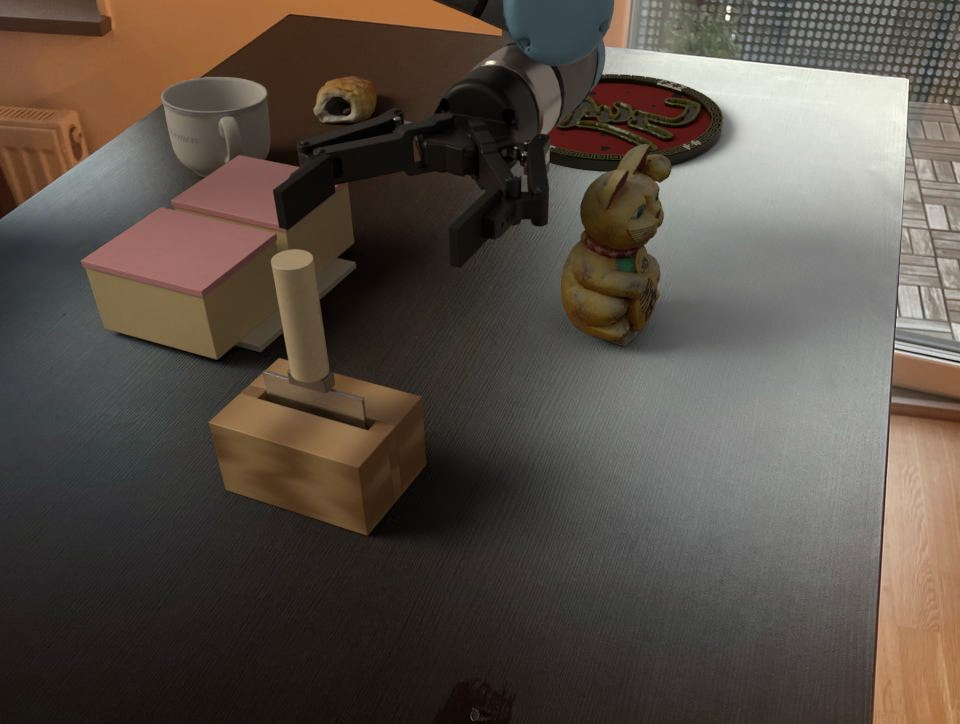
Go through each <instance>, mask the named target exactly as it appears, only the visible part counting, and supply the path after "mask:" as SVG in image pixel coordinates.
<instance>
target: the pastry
mask: <svg viewBox="0 0 960 724" xmlns="http://www.w3.org/2000/svg"><path fill="white" fill-rule="evenodd" d="M377 95H378V94H377V89H376V86H375V85H374V82H373V81H372V80H370V79H366V78H361V77H359V76H356V75H351V76H344V77H340V78H339V77H338V78H334V79H331V80H328V81H326V82H325V84H324V85H323V86H321V87H320V88H319V90H318V92H317V94H316V102H315V106H314V107H313V114H314V115H315V117H317V119H318V120H319V122H320V123H322V124H333V125H334V124H340V123H347V124H357V123H360V122H363V121H366V120H369V119H371V117H372V115H373V114H374V113H375V111H376V110H375V109H376V106H377V102H378V99H377V97H378V96H377Z"/></svg>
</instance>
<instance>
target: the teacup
mask: <svg viewBox="0 0 960 724" xmlns="http://www.w3.org/2000/svg"><path fill="white" fill-rule="evenodd" d="M160 94H161V95H160V100H161V103H162V104H163V109H164V115H165V120H166V126H167V130H168V135H169V140H170V143H171V146H172V149H173V152H174V154H175V156H176V158H177V159H178V160H179V162H180V163H181V164H183V165H184V166H185V167H187V169H190V170H192V172H193V173H194V174H196V175H198V176H199V177H201V178H203V179H204V178H205V177H207V176H208V175H210V174H211V173H213V172H214V171H216V170H217V169H219V168H220V167H222V166H223V165H225V164H226V163H228V162H229V161H231V160H232V159H234V158H235V157H237V156H238V155H242V156H247V157H252V158H257V159H261V160H266V159H267V158H268V155H269V153H270V150H271V149H270V148H271V125H270V113H269V105H268V104H269V103H268V97H269V93H268V89H267V88H266V87H265V86H264V85H262V84H261V83H259V82H256V81H254V80H249V79H245V78H241V77H240V78H239V77H231V76H205V77H196V78H191V79H187V80H183V81H180V82H177V83H174V84H172V85H170V86H168V87H167V88H165V89H164V90H163V91H162V93H160Z"/></svg>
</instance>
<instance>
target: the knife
mask: <svg viewBox="0 0 960 724" xmlns="http://www.w3.org/2000/svg"><path fill="white" fill-rule="evenodd" d="M271 265H272V270H273V276H274V281H275V287H276V293H277V298H278V304H279V310H280V315H281V321H282V327H283V338H284V344H285V349H286V355H287V360H288V361H289V366H290V369H289V370H288V371H287V373H288V376H284V375H281V374H277V373H273V372H270V371H266V369H264V370H263V371H262V373H263V378H264V383H265V388H266V393H267V398H268V402H271V403H275V404H278V405H282V406H285V407H288V408H292V409H295V410H299V411H302V412H306V413H309V414H313V415H316V416H320V417H323V418H327V419H330V420H334V421H337V422H341V423H344V424H348V425H351V426H354V427H358V428H361V429H365V430H368V426H367V418H366V409H365V401H364V397H360V396H357V395H353V394H349V393H346V392H342V391H338V390H335V389H332V388H333V387H334V386H335V379H334V373H335V372H332V371H330V369H331V368H330V362H329V355H328V348H327V342H326V335H325V334H326V333H325V328H324V321H323V315H322V314H323V313H322V307H321V301H320V300H321V299H320V300H319V293H318V286H317V279H316V272H315V265H314V258H313V256H312V254H311V253H309V252H307V251H304V250H298V249H293V250H286V251H282V252H280V253H278V254H276V255H275V256H273V258H272V260H271ZM262 373H261V374H262Z"/></svg>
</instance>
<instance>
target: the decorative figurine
mask: <svg viewBox="0 0 960 724" xmlns="http://www.w3.org/2000/svg"><path fill="white" fill-rule="evenodd" d="M650 148H651V146H650V145H647V144H643V145H639V146H636V147H634V148H633V149H631V150H629V151H628V152H627V154H626V155H625V156H624V157H623V159H622V160H621V162H620V164H619V166H618V168H617V170H613V171H606V172H605V173H602V174H600V175H599V176H598V177H596V178H594V180H593V181H592V182H591V183H590V184H589V186H588V187H587V189H586V190H585V192H584V194H583V197H582V199H581V202H580V207H579V216H580V221H581V224H582V226H583V229H584V230H582V232H581V234H580V235H579V238H580V240H579V241H578V242H576V244H575V245H574V246H573V247H572V248H571V249H570V251H569V253H568V254H567V256H566V259H565V261H564V264H563V267H562V271H561V274H560V296H561V302H562V306H563V310H564V312H565V314H566V316H567V319H568V320H569V322H570V323H571V324H572V326H574V328H576V329H577V330H578V331H580V332H582V333H584V334H586V335H589V336H590V337H594V338H598V339H602V340H603V341H605V342H609V343H613V344H615V345H619V346H624V347H625V346H628V344H630V342H632V341H633V340H635V339H636V337H637V335H638V334H639V333H640V332H641V331H642V330H643V328H644V327H645V326H646V325H647V324H648V322H649V320H650V319H651V317H652V315H653V313H654V310H655V306H656V303H657V301H658V300H659V297H660V291H659V289H658V284H659V282H660V279H661V266H660V264H659V262H658V259H656V257H654V256H653V255H651V254H650V253H648V250H647V248H646V244H648V243H649V242H650V240H651V239H653V238H654V237H655V236H656V234H657V232H658V229H659V228H660V227H662V225H663V223H664V218H665V212H664V209H663V205H662V201H661V199H660V189H661V188H660V186H659V184H660V183H662V182H664V181H665V180H667V179H669V178H670V176H671V173H672V168H673V167H672V165H671V163H670V161H669V159H668V158H666V157H665V156H663V155H659V154H652V155H648V153H649V151H650ZM647 155H648V156H647Z"/></svg>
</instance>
